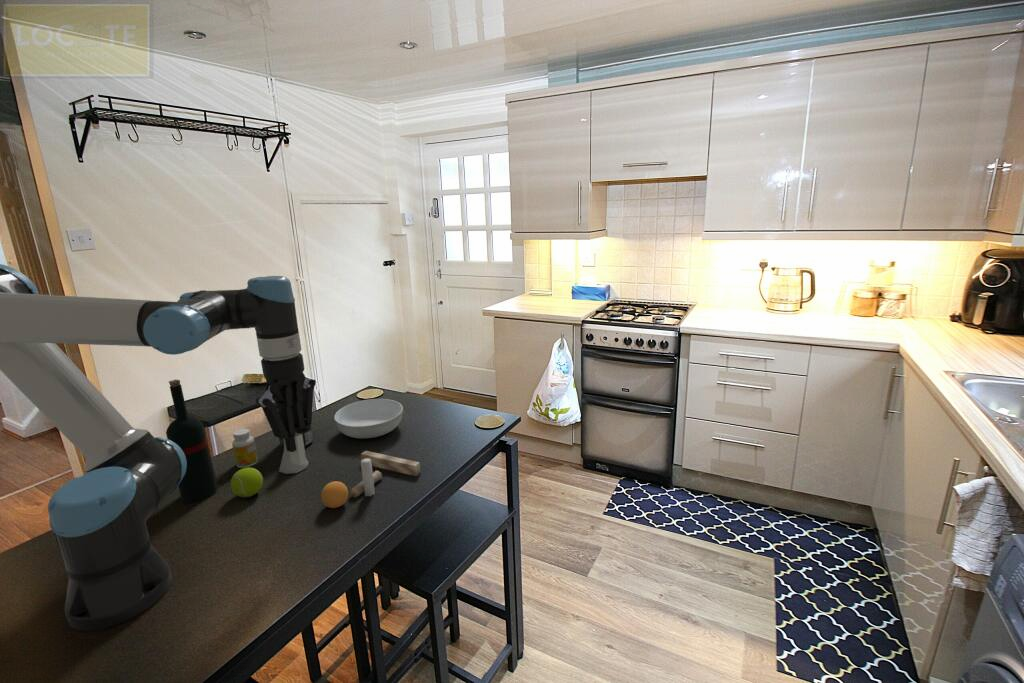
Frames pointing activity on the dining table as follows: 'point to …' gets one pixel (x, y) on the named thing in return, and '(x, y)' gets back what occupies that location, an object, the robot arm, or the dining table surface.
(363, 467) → the pin
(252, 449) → the supplement bottle
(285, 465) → the flask
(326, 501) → the ball
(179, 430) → the wine bottle
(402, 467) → the back wall
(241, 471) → the tennis ball
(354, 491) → the pin
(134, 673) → the dining table surface
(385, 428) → the serving bowl
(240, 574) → the dining table surface
